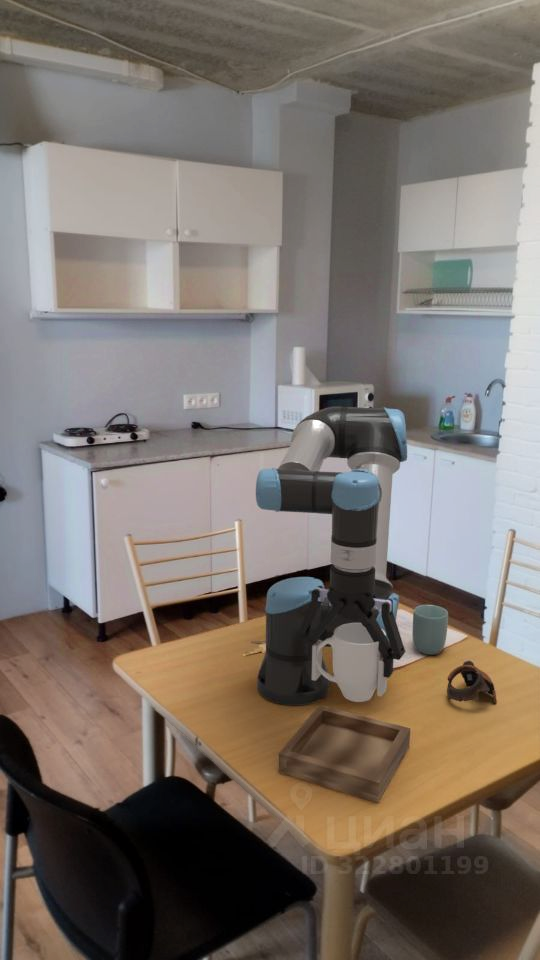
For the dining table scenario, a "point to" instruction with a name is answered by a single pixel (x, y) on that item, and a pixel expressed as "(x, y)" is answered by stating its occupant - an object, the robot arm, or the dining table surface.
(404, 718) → the dining table surface
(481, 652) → the dining table surface
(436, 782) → the dining table surface
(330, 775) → the tray
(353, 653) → the mug
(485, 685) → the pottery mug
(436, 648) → the cup
